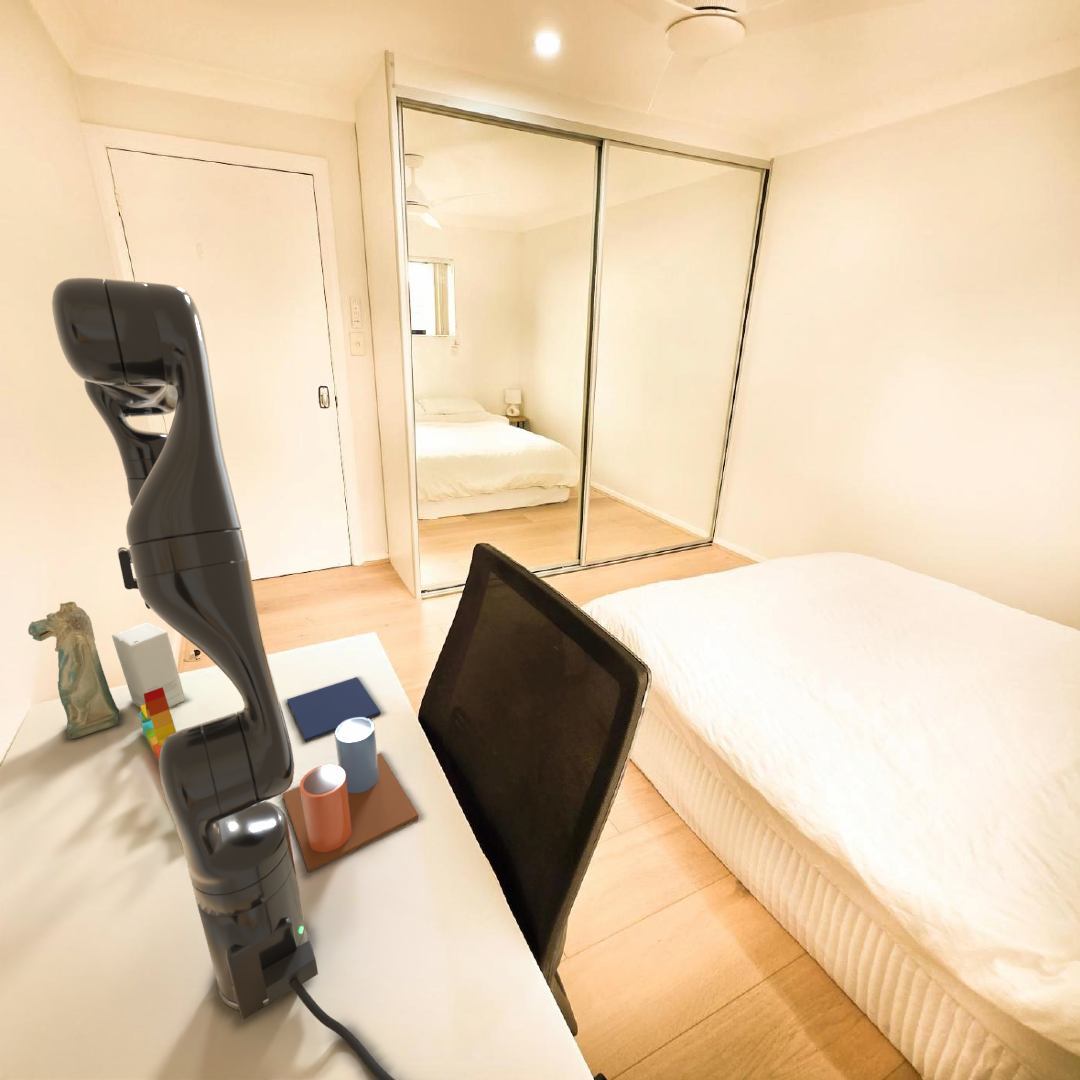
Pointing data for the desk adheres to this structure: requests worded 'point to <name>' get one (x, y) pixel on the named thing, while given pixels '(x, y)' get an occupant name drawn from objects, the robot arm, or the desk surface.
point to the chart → (156, 719)
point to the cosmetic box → (148, 663)
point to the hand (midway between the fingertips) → (187, 601)
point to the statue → (78, 670)
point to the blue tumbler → (357, 753)
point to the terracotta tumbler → (326, 808)
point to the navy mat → (331, 707)
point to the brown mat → (358, 816)
